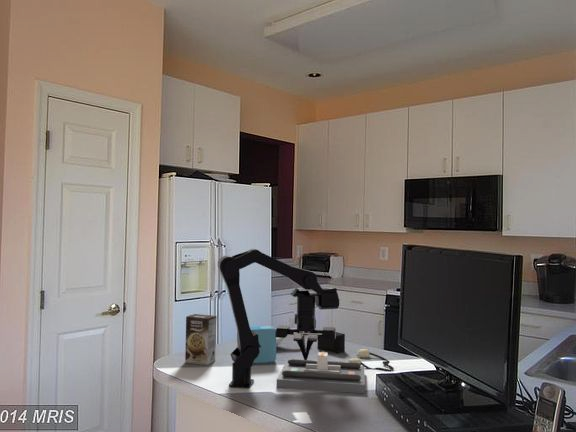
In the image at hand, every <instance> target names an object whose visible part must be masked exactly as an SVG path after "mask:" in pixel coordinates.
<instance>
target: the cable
mask: <svg viewBox="0 0 576 432" xmlns="http://www.w3.org/2000/svg"><path fill="white" fill-rule="evenodd" d="M356 353H357V354H356V356H357V357H359V358H349V360H347V362H351V363H360V365H361V366H364V369H367V370H376V371H385V372H392V371H391V370H393V369H394V370H395V368H394V367H393V366H392V365H390V364H389V363H390V360H388V359H386V358H385V357H383V356H381V355H378V354H375V353H374V352H373V353H372V352H370V351H369V349H367V348H363V349H362V348H361V349H358V351H356ZM370 355H371V356H372V357H376V358H378V359H381V360H383V361H382V364H383V365H384V366H385V367H388V368H389V369H388V368H384V367H374V368H373V367H370V366H368V365H366V364H365V363H363V362H362V360H361V359H360V358H364V359H365V358H366V359H368V358H370ZM394 370H393V371H394Z"/></svg>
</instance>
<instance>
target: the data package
mask: <svg viewBox="0 0 576 432" xmlns="http://www.w3.org/2000/svg"><path fill="white" fill-rule="evenodd" d="M250 329H251V331H253V330H255V332H256V333H257V334H258V339H259V344H260V346H261V348H260V347H259V350H260V353H259V355H258V357H257V358H256V359H255V360H254V362H253V363H256V364H267V363H268V364H269V362H270V363H274V362H275V361H276V359H277V346H276V337H275V332H276V329H275V327H273V326H272V325H264V326H263V325H261V326H250Z"/></svg>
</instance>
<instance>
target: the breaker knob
mask: <svg viewBox="0 0 576 432" xmlns="http://www.w3.org/2000/svg"><path fill="white" fill-rule="evenodd" d="M316 357H317V358H316V359H317V360H316V361H317V370H328V361H329V354H328V352H326V351H321V352H317V355H316Z"/></svg>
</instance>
